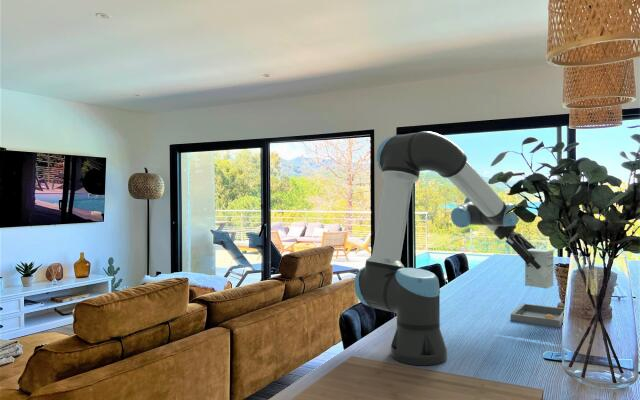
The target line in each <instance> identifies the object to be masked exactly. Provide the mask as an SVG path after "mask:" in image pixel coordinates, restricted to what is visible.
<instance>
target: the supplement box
mask: <svg viewBox="0 0 640 400" xmlns="http://www.w3.org/2000/svg"><path fill="white" fill-rule="evenodd" d="M528 251H529V252H530V253H531V254H532V256H533V257H534V258H536V259H537V260H538V261H539V262H541V263H542V264H543V265H544V266H545V267H546V268H547V269H548V270H549V271H550V272H551V273H550V274H549V275H548V276H547V277H545V278H544V277H543V276H542V275H541V274H540V273H539V272H538V271H537V270H536V269H535V268H534V267H533V266H532V265H531V264H530V263H529V264H528V265H527V264H526V262H525V261H524V268H525V270H524V274H525V275H524V276H525V277H524V279H525V280H524V286H525V287H535V288H541V289H546V290H547V289H549V288H551V287H553V286H554V271H553V267H554V251H555V250H554V249H546V248H545V249H543V248H536V249H533V248H532V249H528Z"/></svg>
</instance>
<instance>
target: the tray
mask: <svg viewBox="0 0 640 400" xmlns="http://www.w3.org/2000/svg"><path fill="white" fill-rule="evenodd" d="M563 313H564V307H556V306H549V305H548V306H547V305H539V304H532V303H522V304H521V305H519V306H518V307H517V308H516V309H514V311H512V312H511V313H510V321H513V322H518V323H526V324H531V325H539V326H544V327H545V326H547V327H551V328H552V327H553V328H561V326H562V325H563V324H562V321H563ZM548 314H550V315H552V316H553V317H554V319H550V318H545V316H546V315H548Z"/></svg>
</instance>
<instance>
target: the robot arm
mask: <svg viewBox="0 0 640 400" xmlns="http://www.w3.org/2000/svg"><path fill="white" fill-rule="evenodd" d="M376 162H377V166H378V168H379V169H380V170H381V173H380V175H381V176H382V178H383V179H384V184H383V189H382V195H381V200H380V201H381V202H380V207H379V213H378V219H377V225H376V231H375V237H374V244H373V248H372V254H371V256H369V257H368V258H367V259H366V260H365V266H364V267H362V268H360V269H359V270H358V271H357V272H356V275H355V277H354V283H353V287H354V288H353V289H354V292H355V295H356V297H357V298H358V300H359V302H360V303H362V304H363V305H365V306H368V307H369V308H372V309H378V310H383V311H386V312H390V313H394V314H396V328H395V331H394V334H393V338H392V341H391V345H390V356H391V358H393V359H394V360H396V361H397V362H400V363H403V364H407V365H414V366H433V365H438V364H442V363H443V362H445V361H446V360H447V359H448V349H447V345H446V343H445V341H444V340H445V339H444V338H443V334H442V332H441V325H440V324H441V323H440V321H441V319H440V318H441V317H440V315H441V314H440V313H441V312H440V311H441V310H440V307H441V305H440V304H441V303H440V299H441V298H440V294H441V289H440V283H439V282H440V281H439V278H438V276H437V275H436V274H435V273H434V272H431V271H429V270H427V269H422V268H414V267H405V266H404V264H403V263H402V261H401V258H402V251H403V245H404V240H405V234H406V228H407V227H406V226H407V221H408V217H409V216H408V215H409V209H410V202H411V197H412V190H413V184H416V182H418V181H419V178H420V173H421V172H422V171H423V172H425V171H431V172H435V173H437V174H438V175H439V176H441V177H442V178H446V179H448V180H449V181H450V182H451V183H452V184H453V186H455V187H456V188H457V189H458V190H459V191H460V192H461V194H463V195H464V197H465V199H464V200H463V201H464V202H463V204H460V205H458V206H456V207H454V208H453V209H452V211H451V213H450V219H451V222H452V223H453V225H455V226H456V227H458V228H463V229H464V228H467V227H469V226H473V225H474V226H486V228H488V230H490V231H491V232H493V235H495V236H496V237H497V238H498V239H499V240H504V239H506V240H505V243H507V244H508V245H509V246H510V247H511V248H512V249H513V250H514V252H515V253H517V254H518V256H519V257H520V259H522V260H523V261H524V263H525V262H526V264H527V265H528V264H529V263H530V264H531V265H532V266H533V267H534V268H535V269H536V270H537V271H538V272H539V273H540V274H541V275H542V276H543V277H544V278H545V277H547V276H548V275H549V274H550V273H551V272H550V271H549V270H548V269H547V268H546V267H545V266H544V265H543V264H542V263H541V262H539V261H538V260H537V259H536V258H534V257H533V256H532V254H531V253H530V252H529V251H528V249H532V248H533V249H537V248H536V247H535V246H534V245H533V244H532V243H530V241H528V240H527V239H526V238H525V237H524V236H523V235H522V234H521V233H517V232H515V231H514V230H515V229H516V228H517V224H518V223H519V220H520V217H519V218H518V217H517V216H516V215H515V214H514V213H513V212H510V213H508V214H507V215H505V214H506V212H508V211H509V210H510V209H512V208H513V207H515V206H516V204H515V203H510V202H508V203H505V201H503V199H502V198H501V197H500V196H499V195H498V194H497V193H496V191H494V189H493V188H492V187H491V186H490V185H489V184H488V183H487V182H486V181H485V179H484V178H483V177H482V175H480V174H479V172H478V171H477V170H476V169H475V168H474V167H473V166H472V165H471V164H470V162H469V161H468V156H467V154H466V153H465V152H464V151H463V150H462V149H461V148H460V146H458V145H457V144H456V143H454V142H453V141H452V140H450V139H449V138H447V137H445V135H442V134H439V133H437V132H433V131H429V130H428V131H427V130H426V131H425V130H424V131H419V132H412V133H406V134H405V133H404V134H396V135H393V136H389V137H387V138H385V139H384V140H382V141H381V143H380V144H379V146H378V148H377V151H376ZM504 215H505V216H504ZM555 270H556V268H555V267H554V266H553V272H555Z"/></svg>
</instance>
